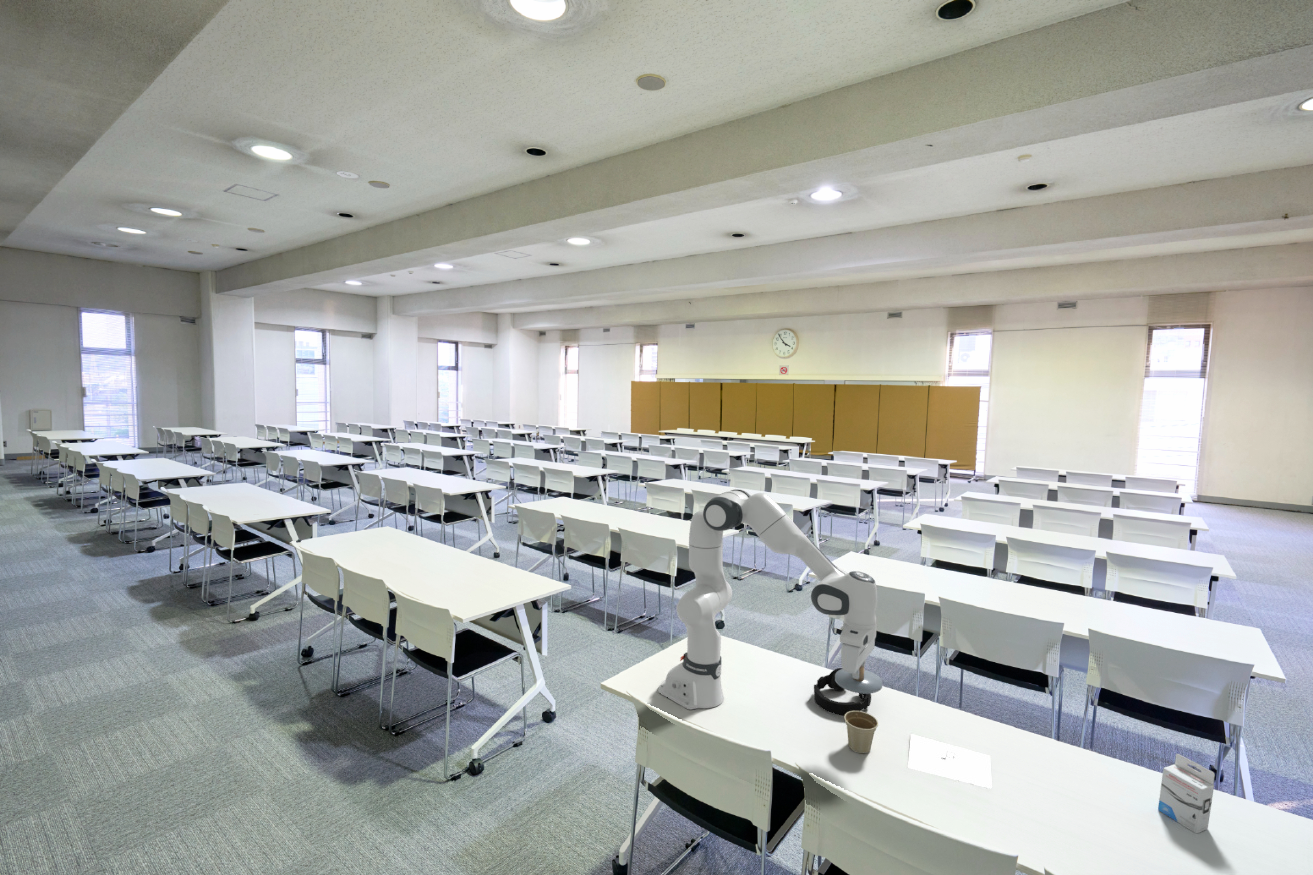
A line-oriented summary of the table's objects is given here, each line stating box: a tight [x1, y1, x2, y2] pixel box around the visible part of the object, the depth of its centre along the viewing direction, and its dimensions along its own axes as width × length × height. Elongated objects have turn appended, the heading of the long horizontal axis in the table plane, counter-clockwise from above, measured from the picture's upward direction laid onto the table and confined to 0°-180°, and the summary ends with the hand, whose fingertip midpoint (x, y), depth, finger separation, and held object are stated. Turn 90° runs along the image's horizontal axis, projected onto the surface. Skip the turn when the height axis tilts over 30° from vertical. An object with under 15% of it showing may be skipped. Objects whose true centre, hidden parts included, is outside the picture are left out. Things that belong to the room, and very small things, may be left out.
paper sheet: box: [907, 733, 993, 789], centre depth 165 cm, size 24×29×1 cm
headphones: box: [813, 667, 872, 717], centre depth 200 cm, size 18×8×20 cm
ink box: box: [1157, 753, 1216, 834], centre depth 148 cm, size 9×5×15 cm, turn 21°
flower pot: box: [843, 710, 879, 754], centre depth 175 cm, size 9×9×9 cm
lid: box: [835, 665, 883, 694], centre depth 173 cm, size 13×13×4 cm
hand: (858, 674), depth 173 cm, fingers closed on lid, 3 cm apart
